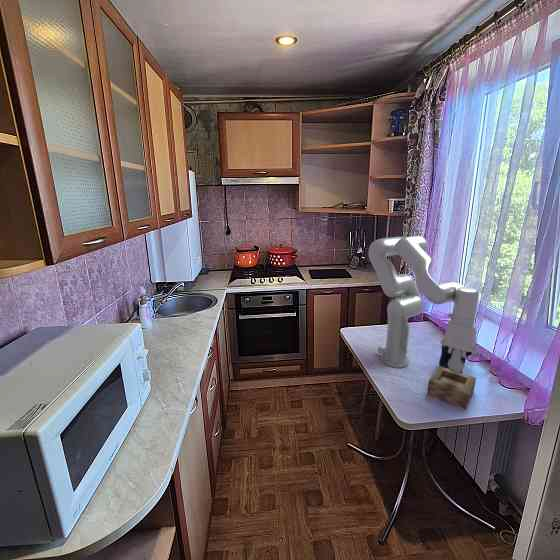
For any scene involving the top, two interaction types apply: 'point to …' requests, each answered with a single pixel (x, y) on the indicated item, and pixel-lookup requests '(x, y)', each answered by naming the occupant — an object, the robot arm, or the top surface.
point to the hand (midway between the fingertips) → (456, 363)
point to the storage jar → (444, 358)
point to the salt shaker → (456, 361)
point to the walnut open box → (451, 387)
